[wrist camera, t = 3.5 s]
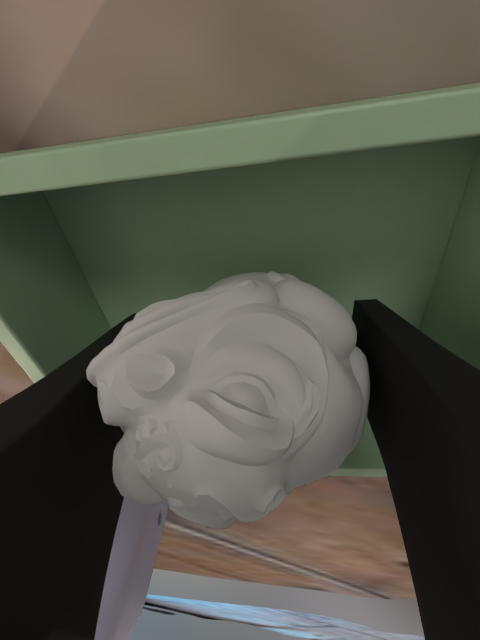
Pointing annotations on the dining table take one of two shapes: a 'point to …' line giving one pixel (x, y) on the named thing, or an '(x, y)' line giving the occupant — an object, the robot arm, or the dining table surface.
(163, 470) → the cream rounded lump
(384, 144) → the tote
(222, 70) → the dining table surface
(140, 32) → the dining table surface
